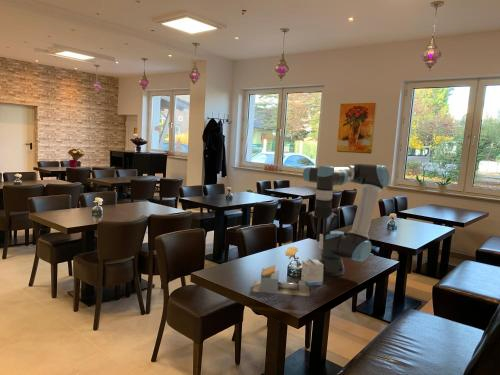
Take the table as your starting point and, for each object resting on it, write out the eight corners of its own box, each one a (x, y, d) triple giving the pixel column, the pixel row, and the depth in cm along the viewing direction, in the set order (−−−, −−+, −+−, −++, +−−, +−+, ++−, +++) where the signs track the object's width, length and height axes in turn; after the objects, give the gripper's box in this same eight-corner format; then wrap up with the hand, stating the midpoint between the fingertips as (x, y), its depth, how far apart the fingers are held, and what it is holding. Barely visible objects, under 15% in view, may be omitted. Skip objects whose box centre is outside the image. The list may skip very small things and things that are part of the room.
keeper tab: (275, 266, 184) (274, 264, 184) (274, 273, 174) (274, 271, 174) (262, 270, 185) (262, 268, 185) (261, 277, 175) (260, 275, 175)
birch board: (308, 287, 185) (308, 285, 185) (309, 298, 172) (309, 296, 172) (254, 283, 188) (254, 281, 188) (251, 293, 175) (251, 291, 175)
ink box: (322, 286, 188) (324, 261, 186) (307, 288, 185) (309, 262, 184) (315, 280, 196) (316, 256, 194) (300, 281, 193) (302, 256, 192)
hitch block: (278, 283, 186) (278, 270, 185) (277, 292, 174) (278, 279, 173) (262, 282, 187) (262, 269, 186) (260, 291, 175) (261, 278, 174)
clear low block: (304, 287, 182) (305, 280, 182) (305, 292, 176) (305, 285, 175) (275, 285, 183) (276, 278, 183) (275, 290, 177) (275, 283, 177)
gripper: (337, 198, 176) (333, 247, 179) (309, 197, 177) (306, 245, 180) (339, 201, 169) (335, 251, 172) (310, 199, 170) (306, 249, 173)
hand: (320, 248), depth 176 cm, fingers closed
